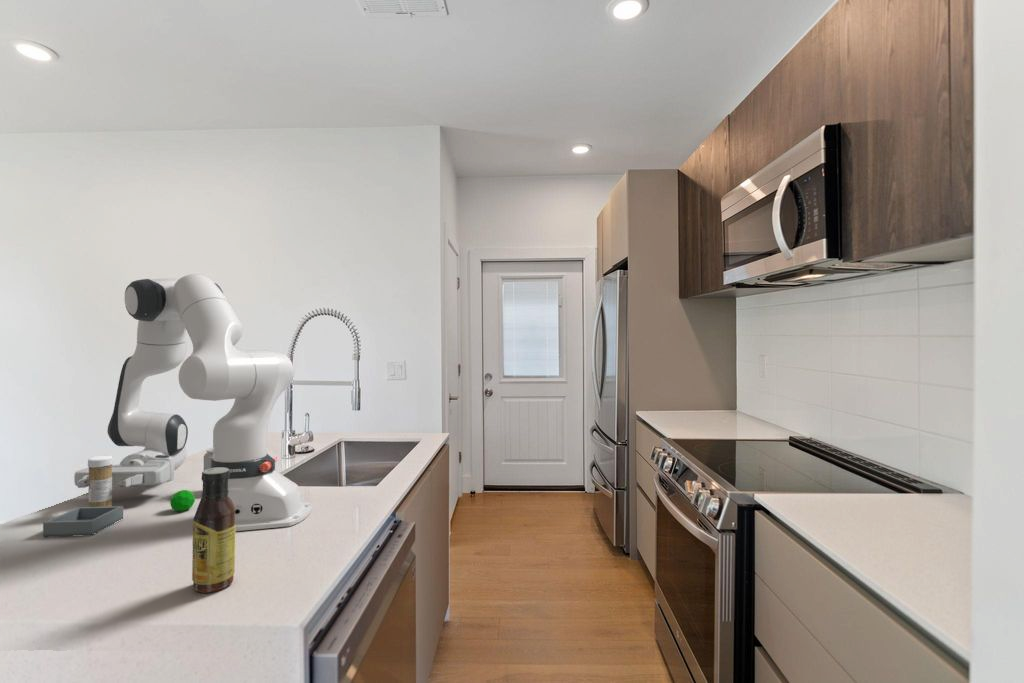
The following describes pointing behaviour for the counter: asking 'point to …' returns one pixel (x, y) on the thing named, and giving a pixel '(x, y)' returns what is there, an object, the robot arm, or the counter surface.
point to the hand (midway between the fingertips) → (101, 484)
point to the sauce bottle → (214, 534)
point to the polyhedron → (182, 500)
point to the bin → (83, 521)
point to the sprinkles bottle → (100, 481)
